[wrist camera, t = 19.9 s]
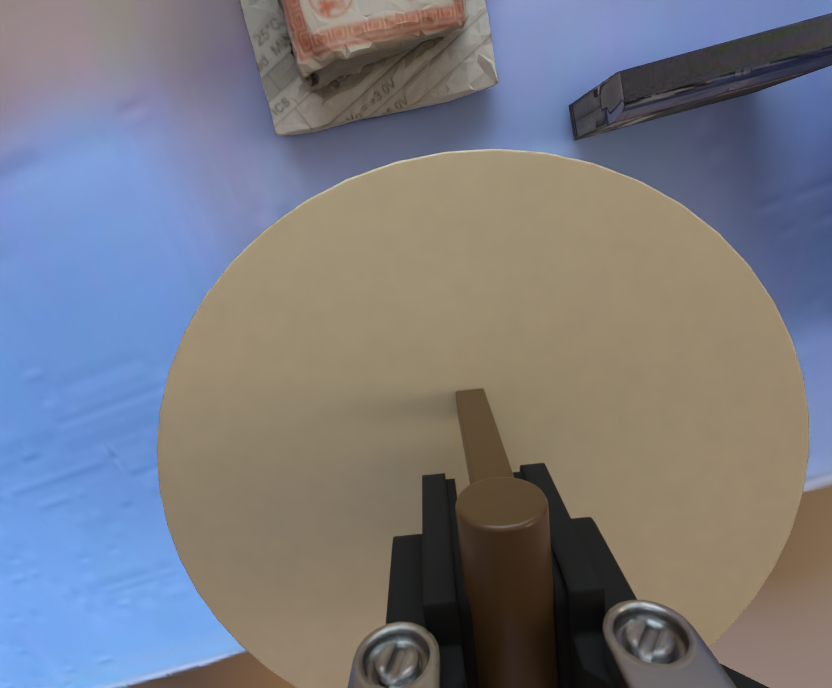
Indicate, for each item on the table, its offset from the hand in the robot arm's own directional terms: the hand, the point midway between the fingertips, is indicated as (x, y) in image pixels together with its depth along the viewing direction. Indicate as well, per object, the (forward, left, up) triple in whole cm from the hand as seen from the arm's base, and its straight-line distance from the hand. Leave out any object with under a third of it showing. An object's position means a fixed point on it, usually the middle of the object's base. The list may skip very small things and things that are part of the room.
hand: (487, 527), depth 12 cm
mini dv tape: (-11, -10, -15) cm, 21 cm away
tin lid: (0, 0, -2) cm, 2 cm away
